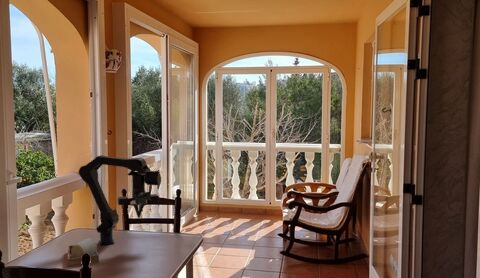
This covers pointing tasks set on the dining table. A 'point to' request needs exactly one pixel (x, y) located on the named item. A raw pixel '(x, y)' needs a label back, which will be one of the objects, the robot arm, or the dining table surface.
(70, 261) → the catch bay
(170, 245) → the dining table surface
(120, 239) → the dining table surface
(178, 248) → the dining table surface
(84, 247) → the ceramic mug
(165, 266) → the dining table surface
